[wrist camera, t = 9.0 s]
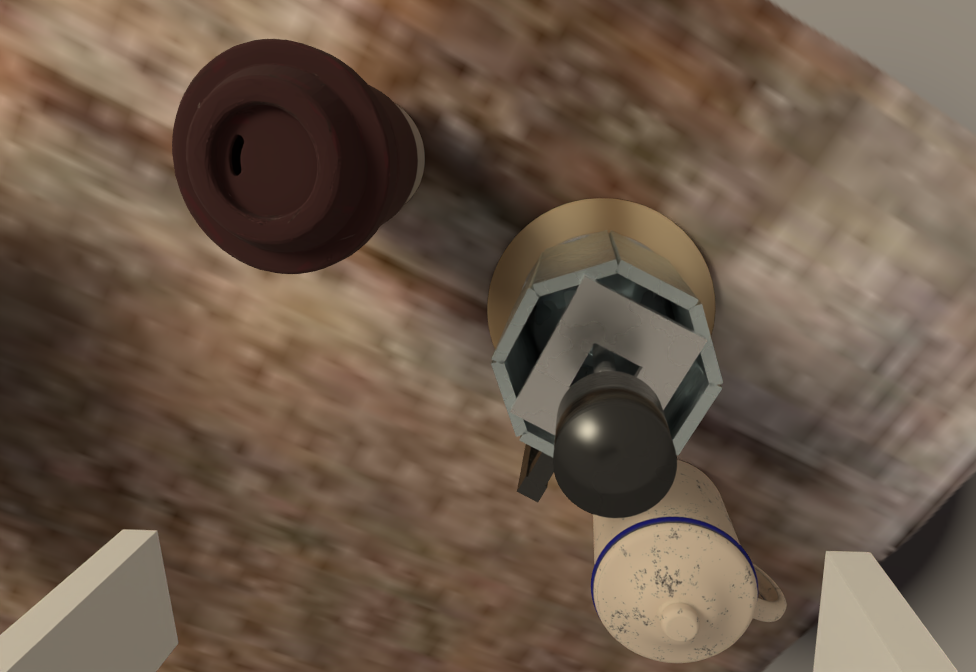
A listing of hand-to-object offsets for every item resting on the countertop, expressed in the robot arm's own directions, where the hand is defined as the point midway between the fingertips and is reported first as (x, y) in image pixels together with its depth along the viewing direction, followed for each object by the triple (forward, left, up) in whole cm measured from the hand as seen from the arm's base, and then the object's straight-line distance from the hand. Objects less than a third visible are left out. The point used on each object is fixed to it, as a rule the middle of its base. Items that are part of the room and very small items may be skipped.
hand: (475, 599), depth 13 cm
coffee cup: (-11, +8, -31) cm, 34 cm away
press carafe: (+2, -3, -30) cm, 31 cm away
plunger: (+3, -2, -28) cm, 28 cm away
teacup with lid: (+8, -16, -31) cm, 36 cm away
